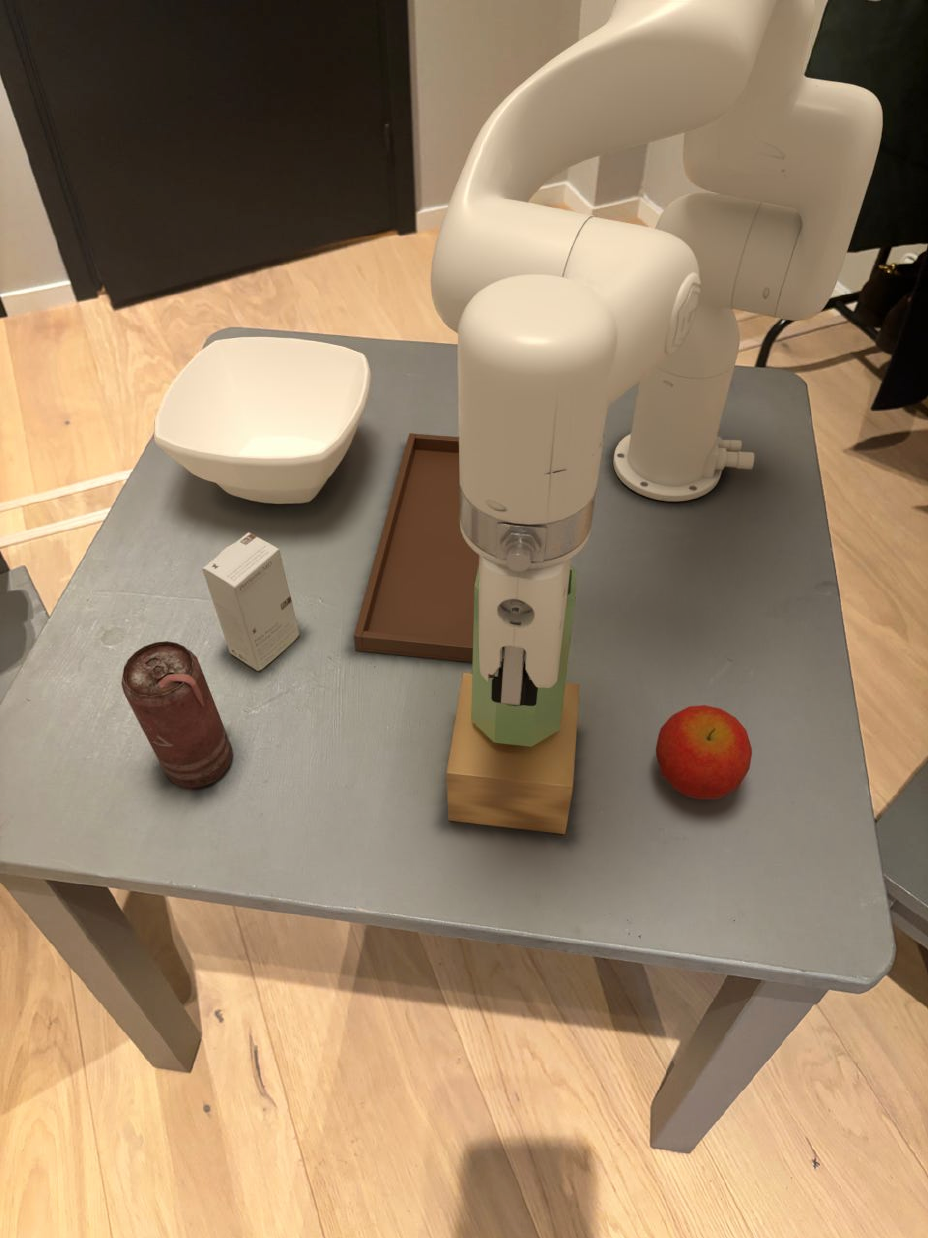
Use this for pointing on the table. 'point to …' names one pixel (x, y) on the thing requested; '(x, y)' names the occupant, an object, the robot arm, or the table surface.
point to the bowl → (265, 415)
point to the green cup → (523, 720)
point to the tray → (422, 562)
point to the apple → (703, 752)
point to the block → (511, 772)
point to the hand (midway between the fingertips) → (514, 695)
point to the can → (177, 713)
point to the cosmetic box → (252, 600)
